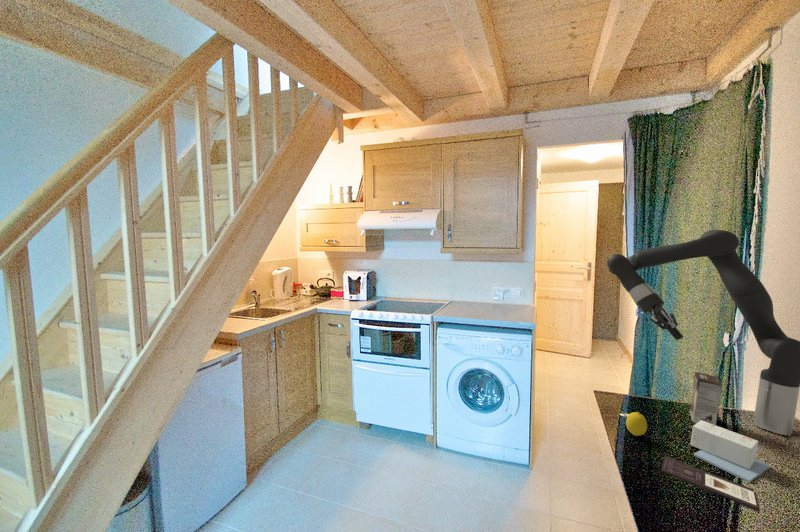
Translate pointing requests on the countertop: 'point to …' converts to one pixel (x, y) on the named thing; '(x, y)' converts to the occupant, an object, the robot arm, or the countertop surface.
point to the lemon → (636, 423)
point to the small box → (724, 444)
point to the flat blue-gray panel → (734, 466)
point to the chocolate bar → (709, 482)
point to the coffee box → (705, 398)
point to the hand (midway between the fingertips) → (680, 338)
